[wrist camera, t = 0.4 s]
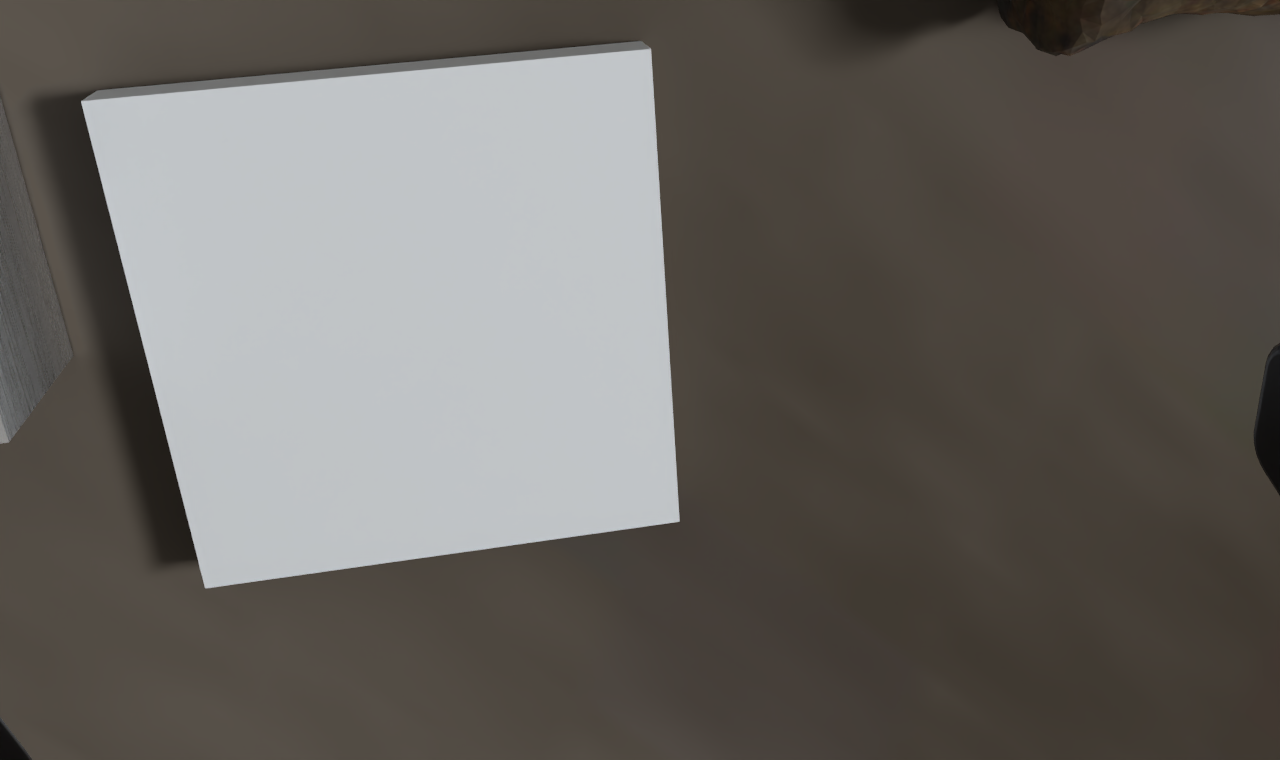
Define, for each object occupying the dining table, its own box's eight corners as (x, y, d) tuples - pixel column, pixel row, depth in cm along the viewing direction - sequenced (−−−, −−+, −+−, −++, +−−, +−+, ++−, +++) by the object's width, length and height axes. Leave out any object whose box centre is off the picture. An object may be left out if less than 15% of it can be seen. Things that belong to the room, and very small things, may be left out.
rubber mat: (670, 497, 24) (679, 521, 23) (214, 560, 23) (205, 588, 22) (641, 40, 20) (650, 48, 19) (97, 90, 19) (80, 101, 18)
